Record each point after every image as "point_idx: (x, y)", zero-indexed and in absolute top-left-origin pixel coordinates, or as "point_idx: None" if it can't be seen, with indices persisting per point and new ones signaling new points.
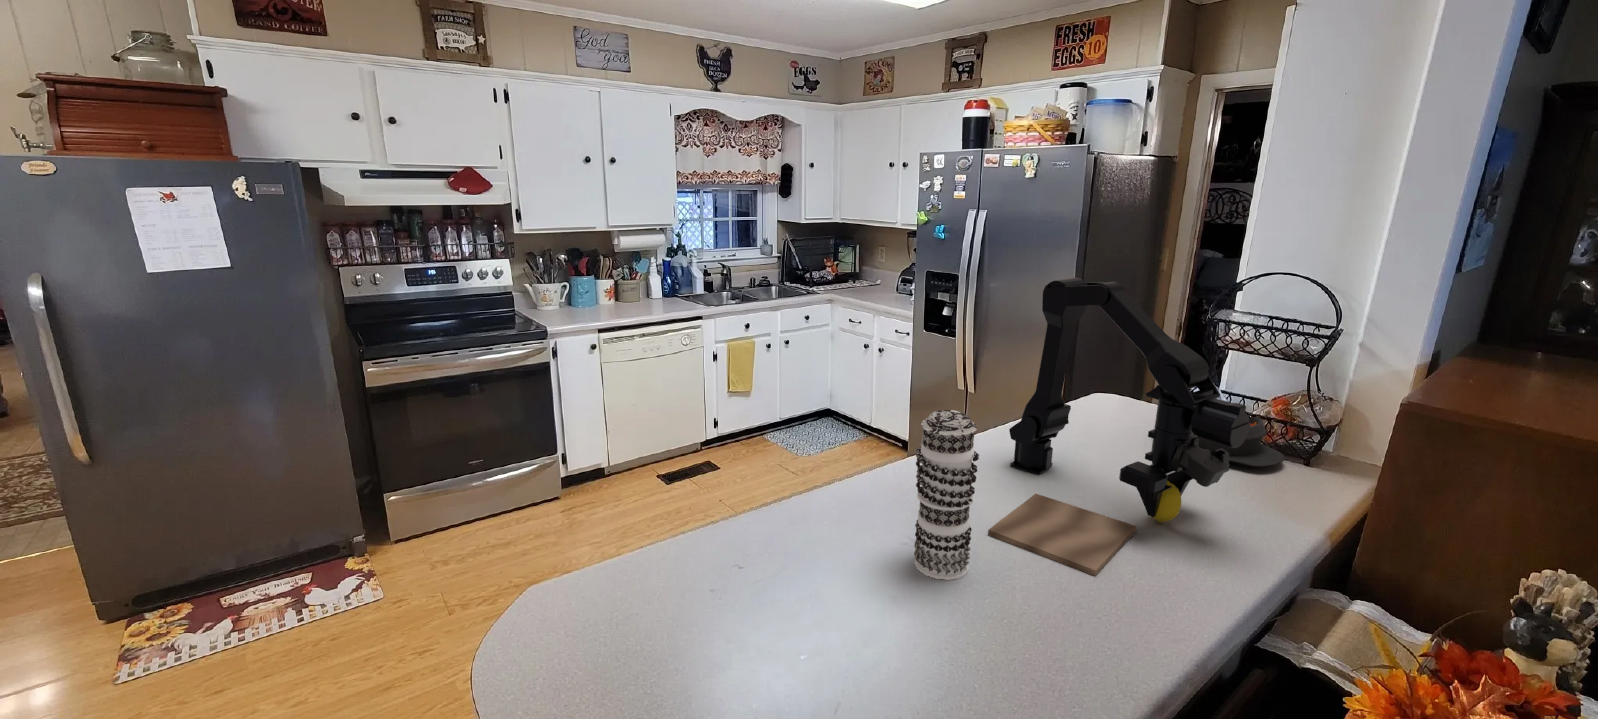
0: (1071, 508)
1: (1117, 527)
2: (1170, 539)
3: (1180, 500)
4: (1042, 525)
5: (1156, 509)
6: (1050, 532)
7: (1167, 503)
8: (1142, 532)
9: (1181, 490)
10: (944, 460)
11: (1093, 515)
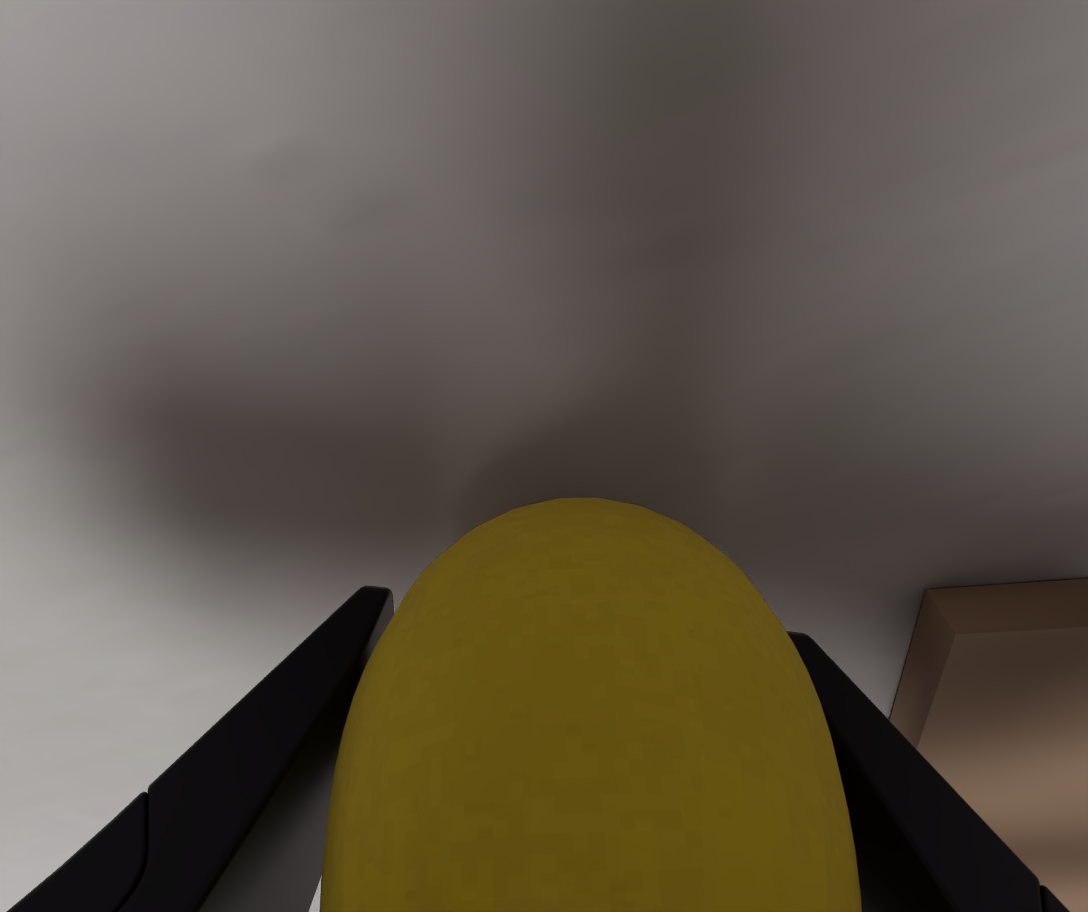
0: None
1: (1083, 704)
2: (908, 331)
3: (547, 719)
4: None
5: (876, 732)
6: None
7: (822, 779)
8: (910, 552)
9: (224, 853)
10: None
11: None
